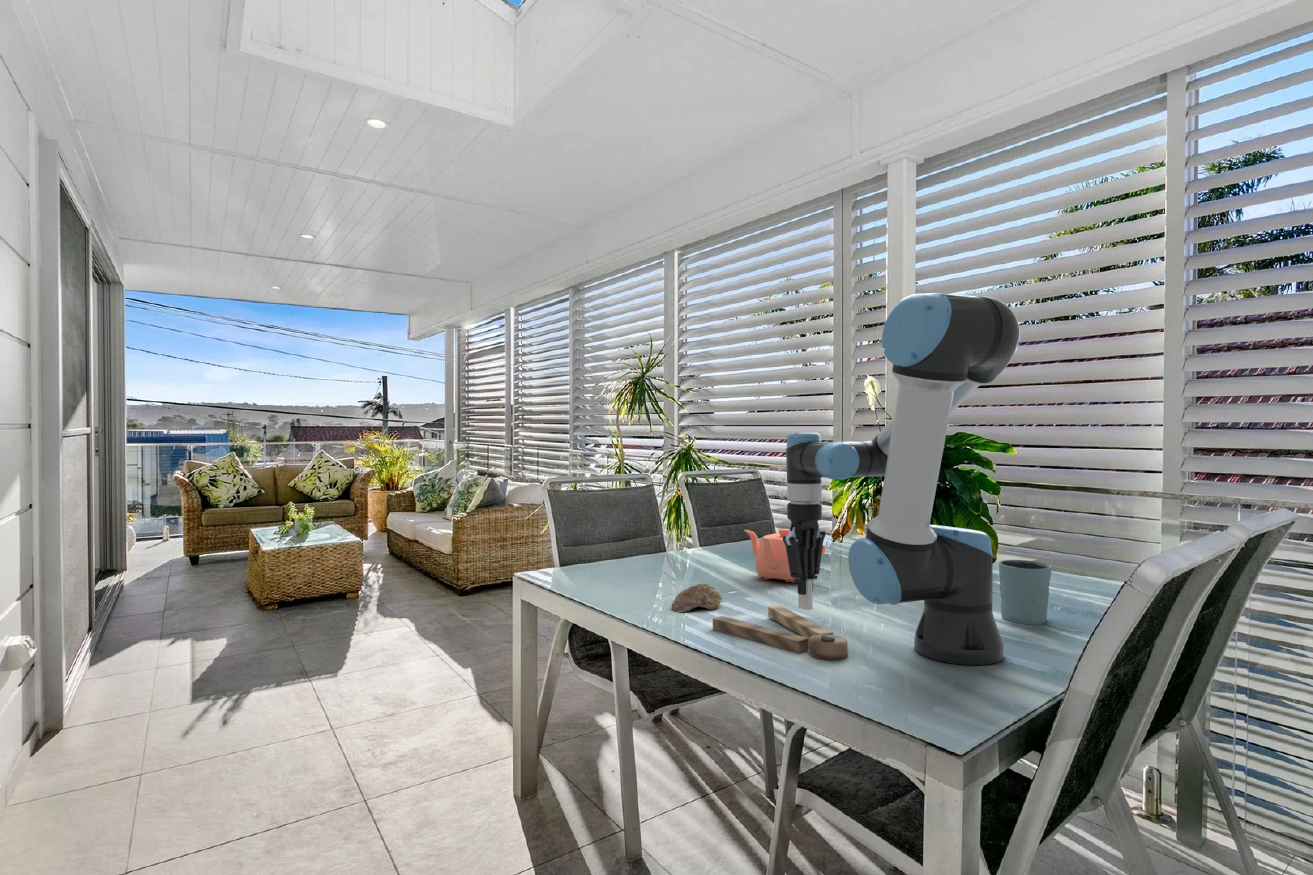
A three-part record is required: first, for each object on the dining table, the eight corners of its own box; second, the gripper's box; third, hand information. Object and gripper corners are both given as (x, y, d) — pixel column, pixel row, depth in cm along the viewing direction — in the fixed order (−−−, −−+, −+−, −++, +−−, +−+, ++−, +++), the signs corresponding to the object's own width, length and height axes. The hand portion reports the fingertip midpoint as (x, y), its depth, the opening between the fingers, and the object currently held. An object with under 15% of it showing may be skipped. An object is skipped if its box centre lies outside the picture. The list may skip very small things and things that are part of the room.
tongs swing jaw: (833, 644, 132) (833, 632, 132) (819, 645, 131) (819, 634, 131) (780, 615, 153) (780, 605, 153) (768, 616, 152) (767, 606, 152)
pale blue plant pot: (1000, 610, 156) (1000, 557, 155) (1052, 616, 150) (1052, 561, 150) (996, 621, 147) (996, 565, 147) (1051, 628, 142) (1051, 570, 142)
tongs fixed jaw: (855, 654, 127) (855, 636, 127) (833, 662, 122) (833, 645, 122) (735, 622, 149) (734, 607, 149) (712, 628, 144) (712, 613, 144)
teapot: (762, 587, 182) (762, 535, 182) (744, 573, 200) (743, 525, 200) (828, 584, 185) (827, 532, 184) (803, 570, 203) (803, 523, 203)
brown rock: (665, 604, 166) (665, 584, 166) (714, 600, 169) (714, 580, 169) (675, 615, 157) (675, 593, 157) (727, 610, 160) (727, 589, 160)
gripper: (807, 498, 159) (809, 600, 160) (772, 503, 151) (773, 610, 151) (835, 501, 154) (836, 606, 154) (800, 505, 145) (801, 617, 145)
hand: (805, 608), depth 153 cm, fingers closed
